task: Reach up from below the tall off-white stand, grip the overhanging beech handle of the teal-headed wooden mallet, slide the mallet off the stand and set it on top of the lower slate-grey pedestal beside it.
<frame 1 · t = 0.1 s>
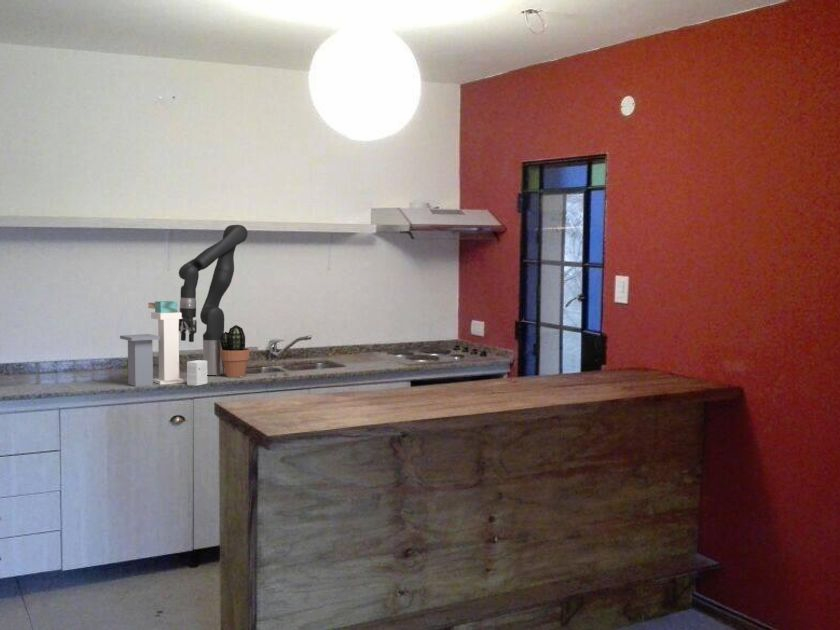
hand: (187, 341, 404), 17 cm above the counter, tool pointing down, fingers open, 8 cm apart
pedestal: (140, 384, 380), on the counter
tall stand: (167, 382, 388), on the counter
potted plant: (235, 376, 409), on the counter
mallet: (166, 312, 386), point 32 cm above the counter, touching tall stand
small box: (197, 384, 383), on the counter
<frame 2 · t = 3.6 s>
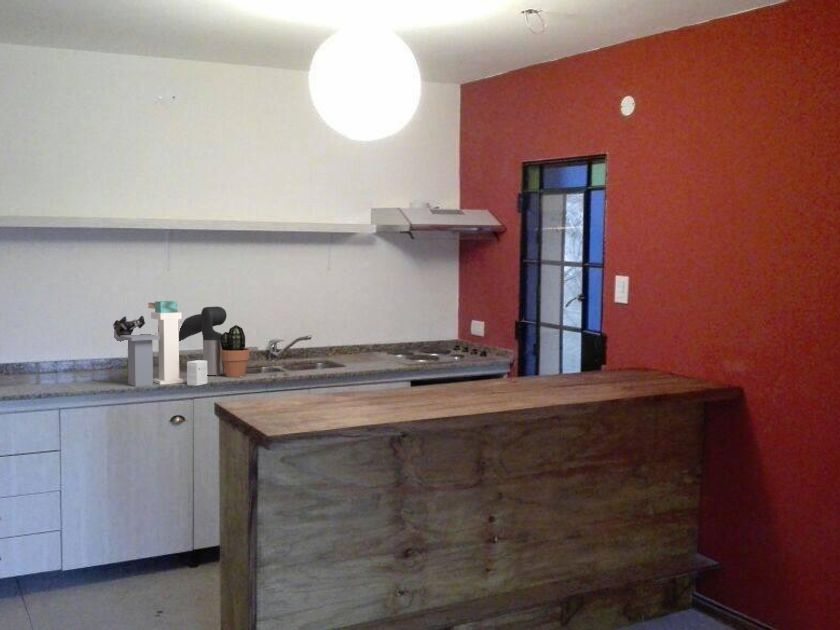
hand: (134, 317, 413), 28 cm above the counter, tool pointing upward, fingers open, 8 cm apart
nothing on the counter moved.
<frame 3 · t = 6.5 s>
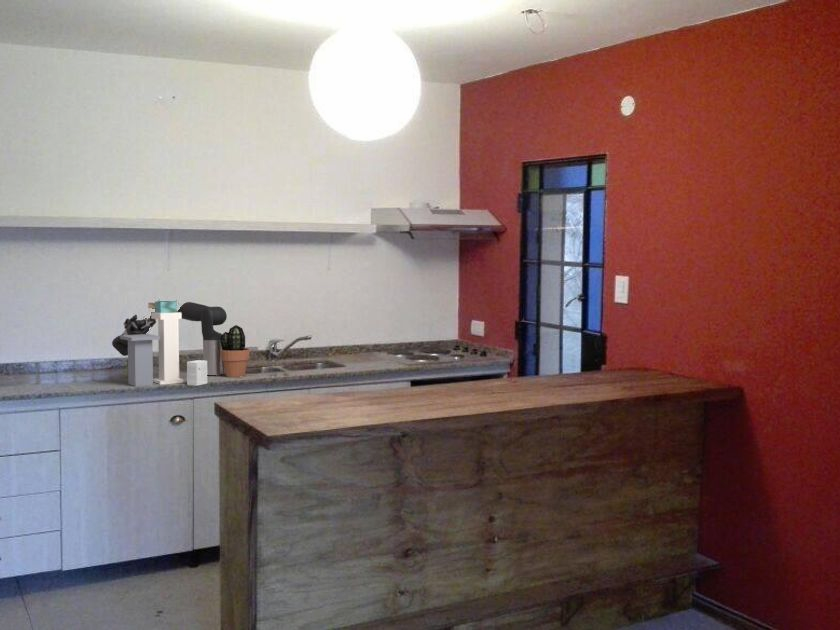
hand: (145, 316, 404), 29 cm above the counter, tool pointing upward, fingers open, 8 cm apart
nothing on the counter moved.
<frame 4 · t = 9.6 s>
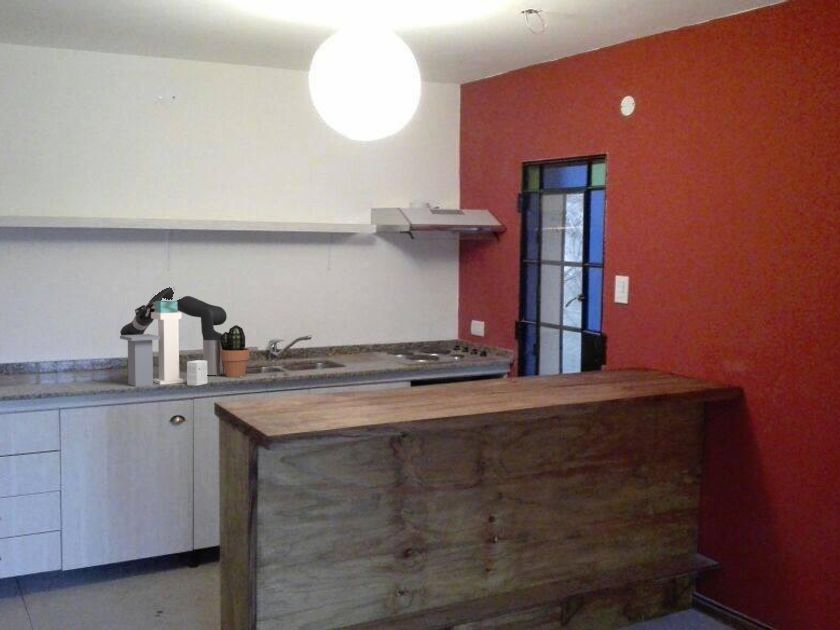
hand: (155, 302, 394), 36 cm above the counter, tool pointing upward, fingers closed on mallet, 2 cm apart
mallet: (166, 312, 386), point 32 cm above the counter, touching gripper, tall stand
everything else where it was.
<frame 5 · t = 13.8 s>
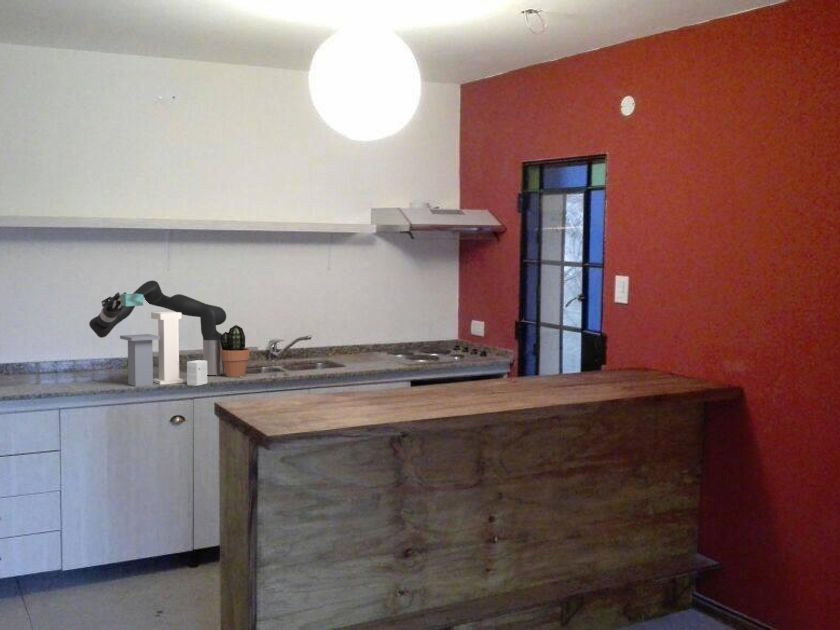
hand: (122, 294, 391), 40 cm above the counter, tool pointing upward, fingers closed on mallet, 2 cm apart
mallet: (131, 305, 383), point 35 cm above the counter, touching gripper
everything else where it was.
when the fingers open (27 cm above the counter, at t = 18.3 s): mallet stays where it is, resting on pedestal.
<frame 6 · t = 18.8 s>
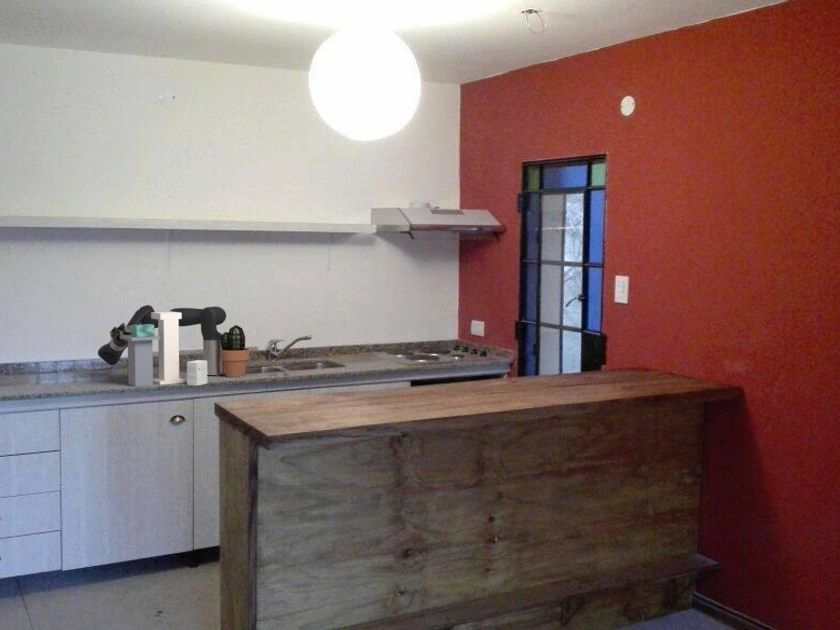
hand: (132, 324, 385), 27 cm above the counter, tool pointing upward, fingers open, 7 cm apart
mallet: (142, 336, 376), point 22 cm above the counter, touching pedestal
everything else where it was.
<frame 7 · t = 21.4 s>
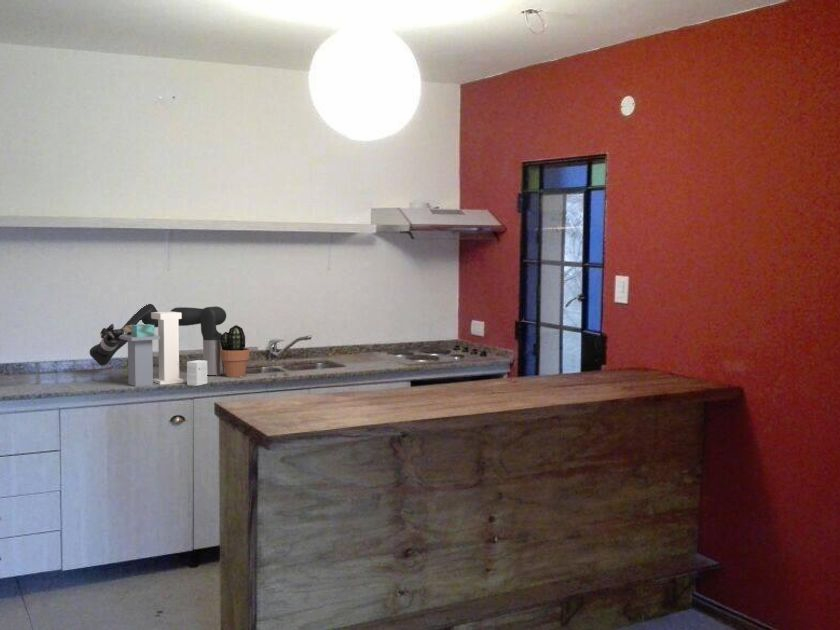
hand: (122, 325, 393), 25 cm above the counter, tool pointing upward, fingers open, 8 cm apart
nothing on the counter moved.
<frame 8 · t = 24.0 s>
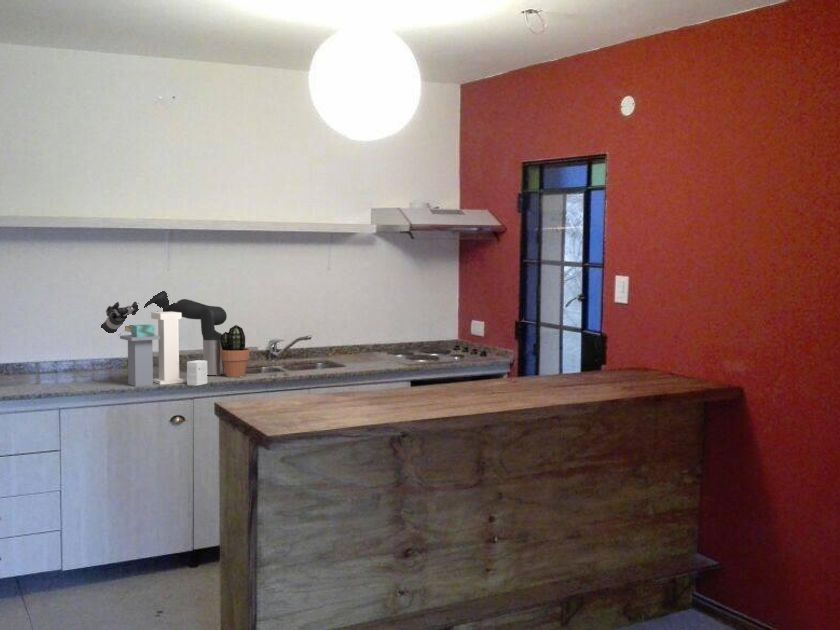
hand: (127, 303, 405), 35 cm above the counter, tool pointing upward, fingers open, 8 cm apart
nothing on the counter moved.
at the end: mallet inside the target area on the pedestal (3.3 cm from its centre), point 22.0 cm above the pedestal's base; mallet tilted 0°; the gripper is holding nothing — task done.
